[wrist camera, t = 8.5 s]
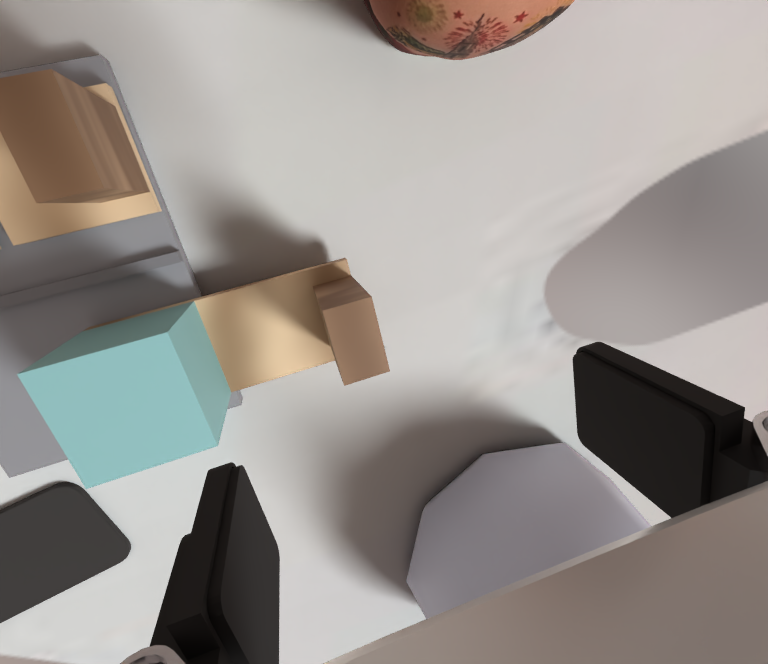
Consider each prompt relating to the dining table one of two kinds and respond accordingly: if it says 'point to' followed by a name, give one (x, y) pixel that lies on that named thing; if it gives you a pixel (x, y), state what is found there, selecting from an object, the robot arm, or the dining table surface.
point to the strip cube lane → (292, 326)
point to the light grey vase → (513, 523)
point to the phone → (53, 546)
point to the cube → (132, 394)
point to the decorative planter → (461, 24)
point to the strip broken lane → (61, 213)
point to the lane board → (78, 290)
